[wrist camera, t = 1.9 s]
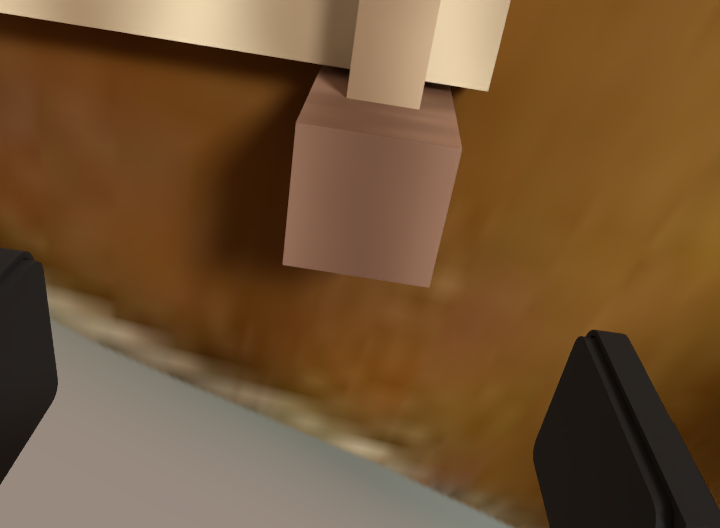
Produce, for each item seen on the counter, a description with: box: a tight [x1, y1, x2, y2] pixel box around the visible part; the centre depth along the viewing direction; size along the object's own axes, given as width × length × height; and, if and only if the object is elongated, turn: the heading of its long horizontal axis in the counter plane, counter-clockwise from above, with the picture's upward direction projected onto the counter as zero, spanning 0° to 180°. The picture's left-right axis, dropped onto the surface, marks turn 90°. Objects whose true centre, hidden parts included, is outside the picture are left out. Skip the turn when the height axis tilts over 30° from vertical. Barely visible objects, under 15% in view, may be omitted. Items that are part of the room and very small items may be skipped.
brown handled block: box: [283, 0, 462, 288], centre depth 17 cm, size 4×13×6 cm, turn 172°
